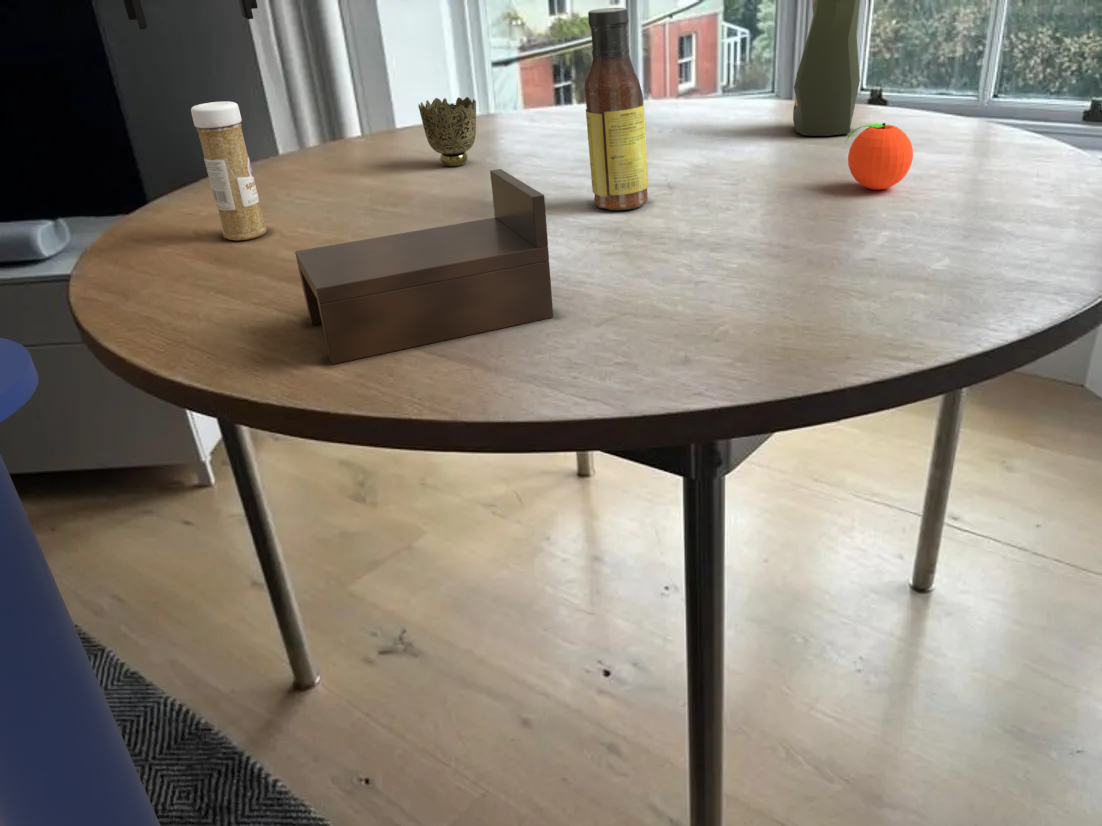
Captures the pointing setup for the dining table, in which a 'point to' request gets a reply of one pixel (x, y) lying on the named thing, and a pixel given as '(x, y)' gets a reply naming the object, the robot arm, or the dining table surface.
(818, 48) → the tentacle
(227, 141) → the sprinkles bottle
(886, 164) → the clementine
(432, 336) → the shelf
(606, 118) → the sauce bottle
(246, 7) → the robot arm
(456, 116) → the cup
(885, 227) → the dining table surface
